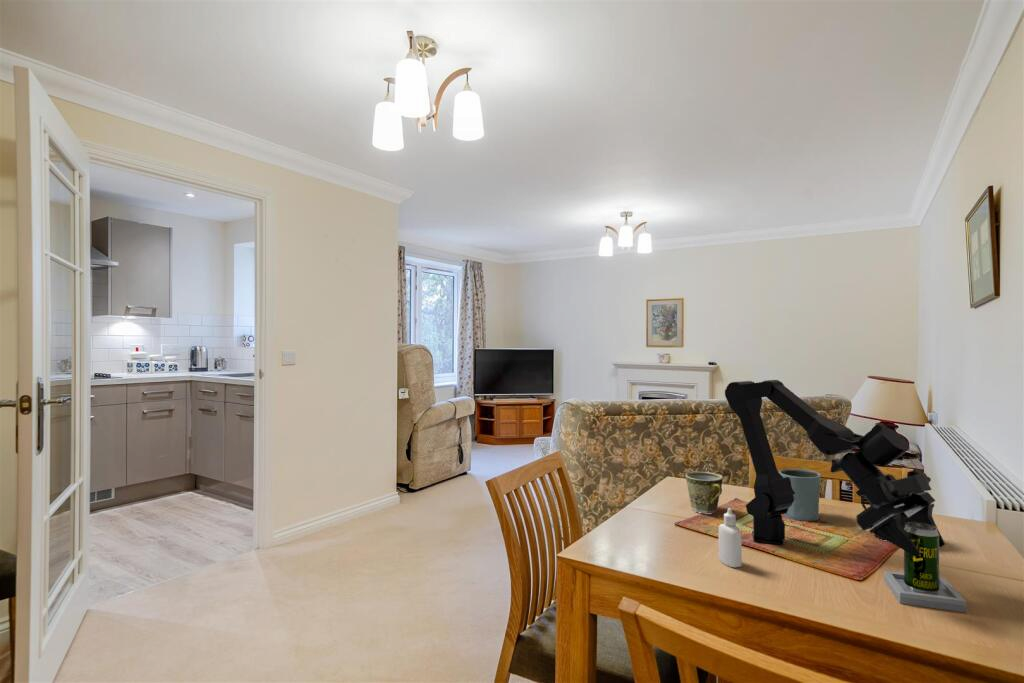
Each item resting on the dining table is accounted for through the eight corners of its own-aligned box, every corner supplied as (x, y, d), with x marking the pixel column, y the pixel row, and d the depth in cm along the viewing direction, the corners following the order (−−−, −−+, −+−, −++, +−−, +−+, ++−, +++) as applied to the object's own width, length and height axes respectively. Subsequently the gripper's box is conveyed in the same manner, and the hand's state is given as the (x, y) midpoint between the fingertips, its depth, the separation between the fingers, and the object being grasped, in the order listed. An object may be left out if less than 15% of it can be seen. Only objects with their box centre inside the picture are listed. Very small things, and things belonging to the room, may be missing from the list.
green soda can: (899, 581, 107) (899, 520, 107) (931, 584, 105) (931, 522, 105) (910, 593, 102) (910, 529, 101) (944, 597, 100) (944, 532, 100)
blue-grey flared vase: (828, 522, 144) (828, 477, 144) (790, 522, 145) (790, 477, 145) (808, 510, 155) (808, 468, 155) (772, 510, 155) (772, 468, 155)
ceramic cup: (679, 506, 158) (678, 472, 158) (709, 504, 161) (709, 470, 161) (705, 521, 146) (704, 484, 146) (737, 518, 148) (737, 481, 148)
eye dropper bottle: (739, 559, 121) (738, 505, 121) (742, 569, 115) (742, 513, 115) (718, 557, 122) (717, 504, 122) (720, 567, 117) (720, 511, 117)
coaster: (900, 603, 100) (899, 592, 100) (884, 580, 110) (884, 570, 110) (966, 612, 97) (966, 601, 97) (944, 588, 106) (943, 578, 106)
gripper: (872, 462, 102) (941, 539, 92) (923, 451, 111) (991, 521, 101) (831, 493, 109) (891, 568, 99) (882, 481, 118) (941, 548, 108)
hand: (930, 550), depth 102 cm, fingers open, 9 cm apart
